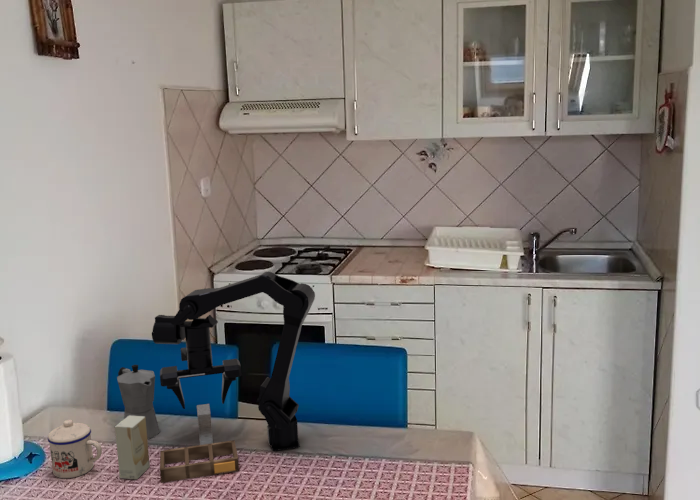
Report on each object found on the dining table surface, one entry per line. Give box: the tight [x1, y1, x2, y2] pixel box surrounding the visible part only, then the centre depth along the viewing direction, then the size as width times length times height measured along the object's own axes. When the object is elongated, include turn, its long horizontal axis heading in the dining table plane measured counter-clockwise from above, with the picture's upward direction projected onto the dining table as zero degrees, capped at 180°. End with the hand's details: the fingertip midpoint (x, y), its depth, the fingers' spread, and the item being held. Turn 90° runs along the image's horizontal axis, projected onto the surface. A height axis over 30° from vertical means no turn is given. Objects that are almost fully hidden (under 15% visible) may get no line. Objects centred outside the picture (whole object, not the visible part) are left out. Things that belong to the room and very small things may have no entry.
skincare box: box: [114, 415, 151, 480], centre depth 154 cm, size 6×4×12 cm
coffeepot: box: [116, 364, 161, 440], centre depth 173 cm, size 15×9×18 cm, turn 44°
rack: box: [159, 439, 240, 484], centre depth 156 cm, size 17×10×3 cm, turn 104°
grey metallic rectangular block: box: [196, 403, 214, 445], centre depth 168 cm, size 3×6×8 cm, turn 14°
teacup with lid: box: [47, 419, 103, 479], centre depth 156 cm, size 12×9×12 cm
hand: (203, 405), depth 167 cm, fingers open, 9 cm apart
